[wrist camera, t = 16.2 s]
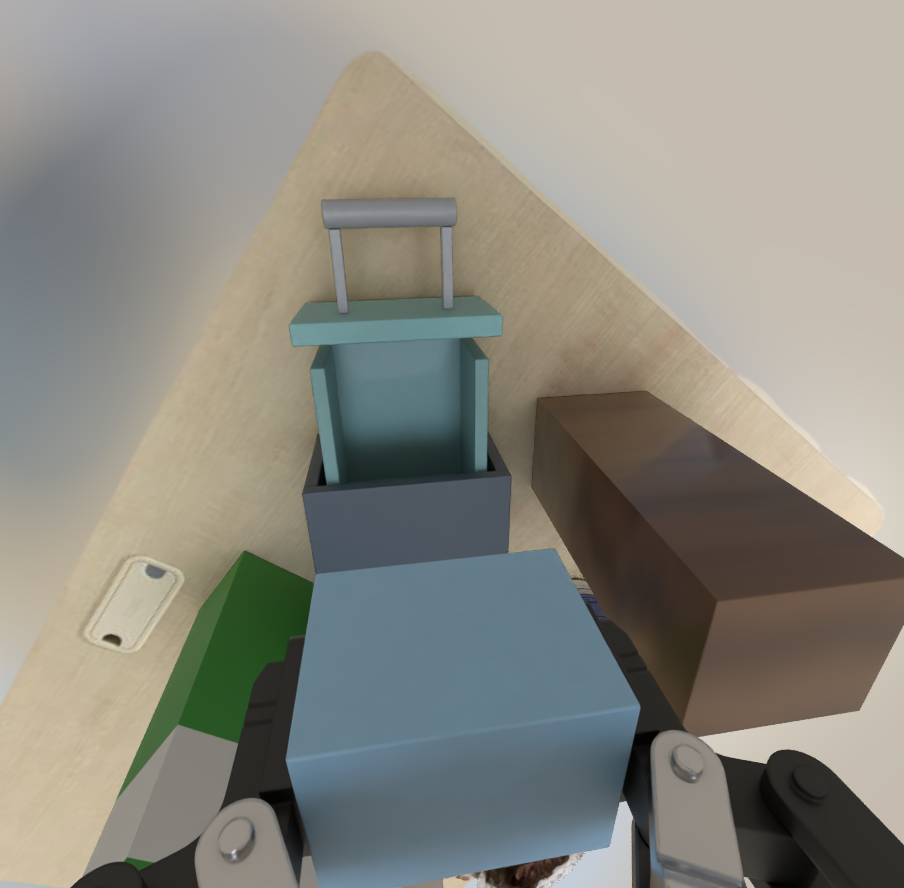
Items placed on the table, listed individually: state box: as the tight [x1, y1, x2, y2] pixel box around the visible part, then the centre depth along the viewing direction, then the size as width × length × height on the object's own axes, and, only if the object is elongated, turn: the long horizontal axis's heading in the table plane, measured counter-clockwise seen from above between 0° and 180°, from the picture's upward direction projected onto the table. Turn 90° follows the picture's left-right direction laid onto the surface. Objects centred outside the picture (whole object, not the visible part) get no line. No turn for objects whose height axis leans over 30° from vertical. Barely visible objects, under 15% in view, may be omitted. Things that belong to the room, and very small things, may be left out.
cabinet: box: [302, 433, 511, 574], centre depth 36 cm, size 15×13×9 cm
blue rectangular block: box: [286, 548, 640, 888], centre depth 11 cm, size 6×4×4 cm
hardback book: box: [83, 551, 443, 888], centre depth 33 cm, size 18×7×24 cm, turn 51°
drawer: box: [289, 198, 503, 485], centre depth 31 cm, size 19×11×7 cm, turn 1°
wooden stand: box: [532, 391, 904, 737], centre depth 30 cm, size 8×9×22 cm
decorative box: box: [456, 852, 584, 888], centre depth 52 cm, size 13×20×10 cm, turn 137°
